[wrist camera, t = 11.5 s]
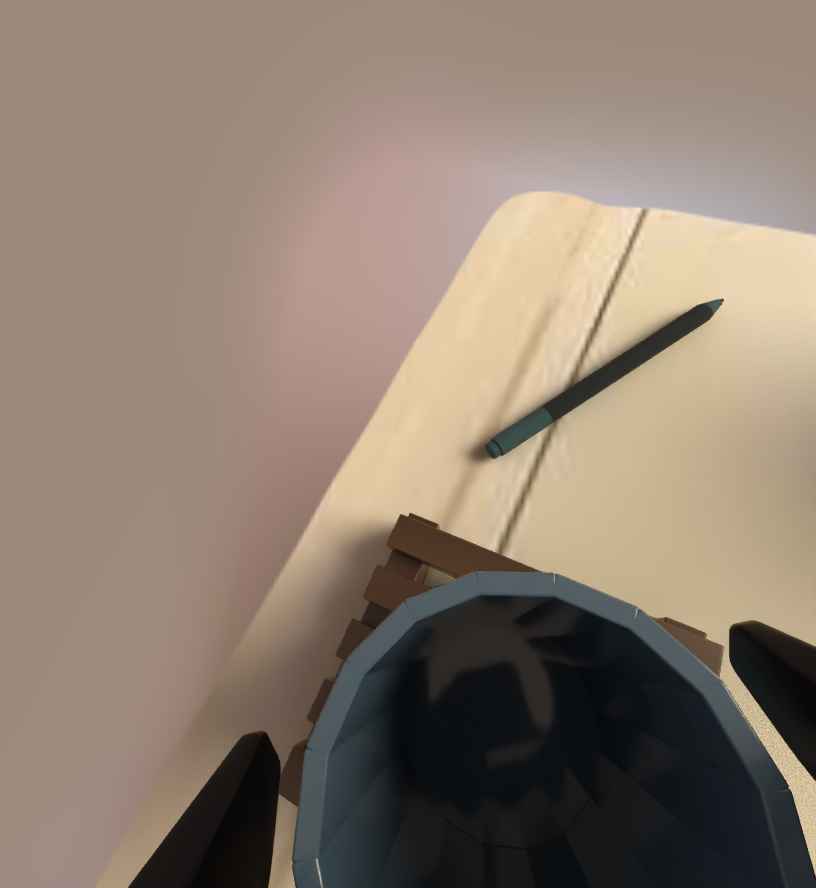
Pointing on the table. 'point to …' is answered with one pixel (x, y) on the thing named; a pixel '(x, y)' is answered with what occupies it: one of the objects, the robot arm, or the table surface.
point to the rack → (403, 579)
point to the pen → (601, 379)
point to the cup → (537, 754)
